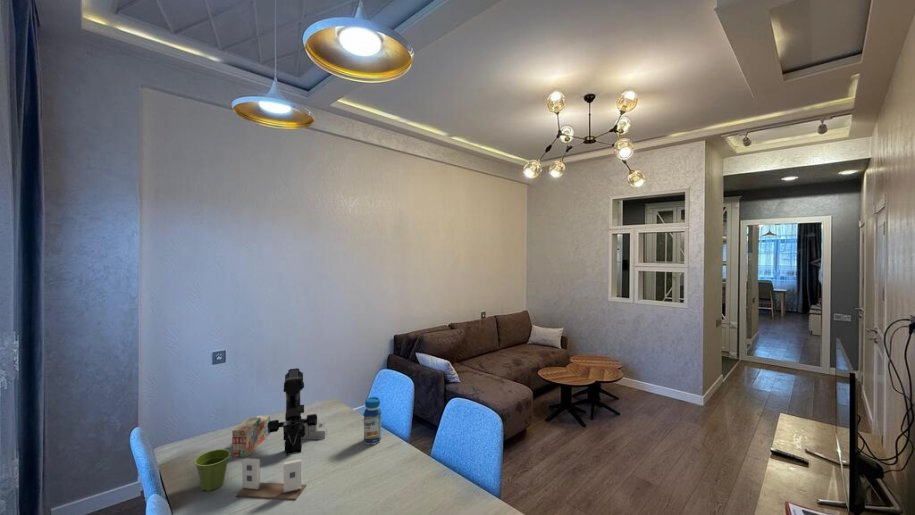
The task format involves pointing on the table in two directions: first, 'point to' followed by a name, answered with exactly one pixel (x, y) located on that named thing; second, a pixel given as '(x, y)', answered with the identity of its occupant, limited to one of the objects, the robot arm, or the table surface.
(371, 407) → the beverage bottle
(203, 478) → the plant pot
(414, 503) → the table surface
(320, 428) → the puzzle cube
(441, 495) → the table surface
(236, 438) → the stack of blocks
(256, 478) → the tile
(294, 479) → the tile
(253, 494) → the tile board
